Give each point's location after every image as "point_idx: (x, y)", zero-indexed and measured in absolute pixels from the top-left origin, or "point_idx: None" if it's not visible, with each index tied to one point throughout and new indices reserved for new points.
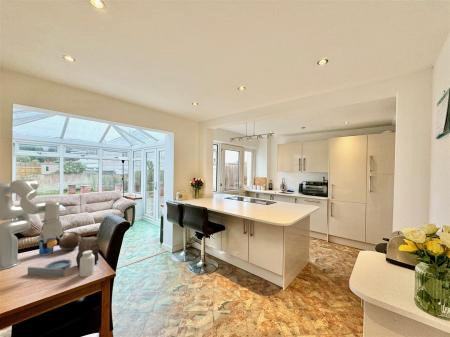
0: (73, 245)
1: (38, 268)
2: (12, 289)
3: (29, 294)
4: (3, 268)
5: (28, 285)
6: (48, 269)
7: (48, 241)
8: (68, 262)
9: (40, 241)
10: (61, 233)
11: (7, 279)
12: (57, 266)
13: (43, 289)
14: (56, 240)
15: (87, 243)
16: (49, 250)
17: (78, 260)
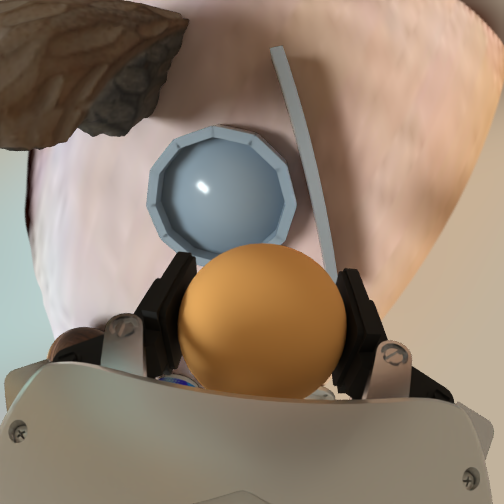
0: (85, 335)
1: (329, 231)
2: (445, 183)
3: (445, 55)
4: (326, 390)
5: (408, 143)
6: (312, 152)
7: (326, 359)
8: (161, 195)
9: (447, 392)
10: (29, 386)
11: (385, 303)
12: (222, 203)
13: (400, 26)
14: (183, 322)
15: (13, 16)
16: None
17: (146, 58)
